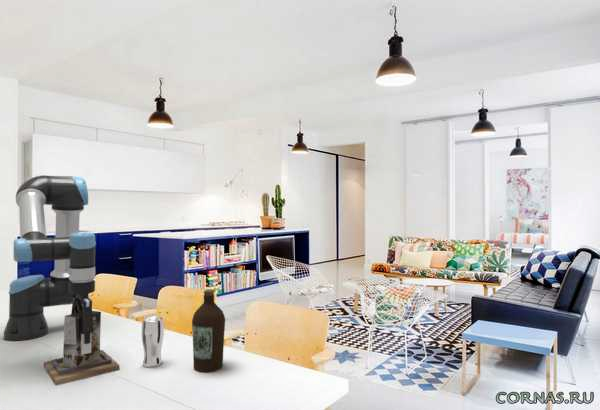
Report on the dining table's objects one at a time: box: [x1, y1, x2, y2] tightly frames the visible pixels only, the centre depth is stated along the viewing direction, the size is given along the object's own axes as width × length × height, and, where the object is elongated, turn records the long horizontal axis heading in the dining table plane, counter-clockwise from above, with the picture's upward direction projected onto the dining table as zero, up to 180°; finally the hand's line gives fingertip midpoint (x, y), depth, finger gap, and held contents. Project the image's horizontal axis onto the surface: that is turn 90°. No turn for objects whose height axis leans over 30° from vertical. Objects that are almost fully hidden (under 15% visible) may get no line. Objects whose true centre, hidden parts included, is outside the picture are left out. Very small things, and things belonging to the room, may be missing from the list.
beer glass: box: [141, 316, 165, 368], centre depth 140 cm, size 7×7×15 cm
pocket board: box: [43, 349, 120, 386], centre depth 135 cm, size 18×18×3 cm
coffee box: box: [62, 310, 102, 368], centre depth 136 cm, size 9×6×16 cm
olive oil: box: [191, 289, 226, 373], centre depth 138 cm, size 11×11×25 cm
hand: (81, 348), depth 135 cm, fingers open, 10 cm apart
